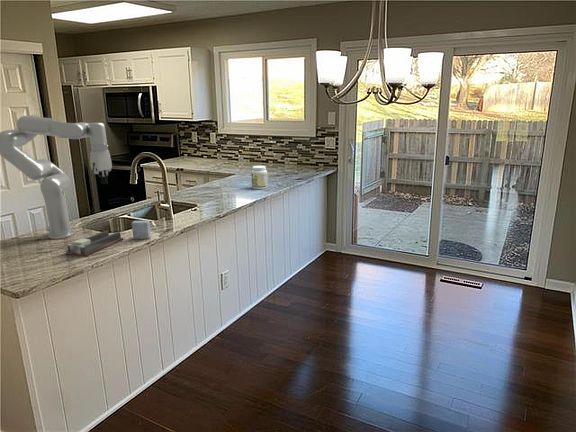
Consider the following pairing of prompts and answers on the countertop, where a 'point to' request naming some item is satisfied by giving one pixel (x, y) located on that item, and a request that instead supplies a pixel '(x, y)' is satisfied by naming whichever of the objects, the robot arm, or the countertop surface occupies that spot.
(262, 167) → the supplement tub
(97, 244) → the chute
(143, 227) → the medicine box
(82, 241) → the block
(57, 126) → the robot arm
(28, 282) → the countertop surface
